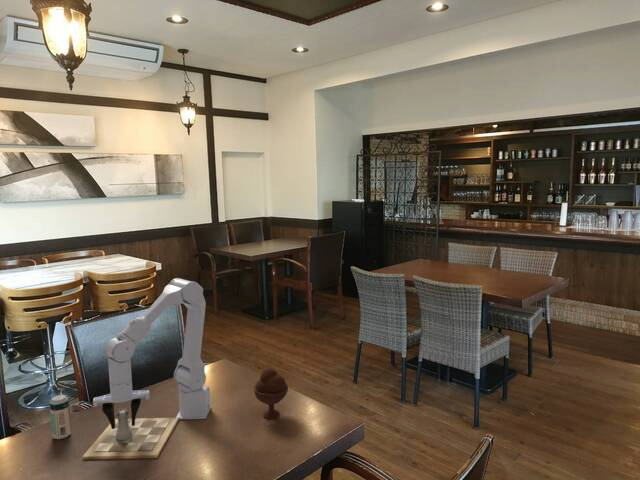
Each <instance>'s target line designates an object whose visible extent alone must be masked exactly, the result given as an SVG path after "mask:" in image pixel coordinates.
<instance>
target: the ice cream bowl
mask: <svg viewBox="0 0 640 480" xmlns="http://www.w3.org/2000/svg"><path fill="white" fill-rule="evenodd" d="M253 390H254V395H255V397H256V399H257V400H258V401H259V402H261V403H262V404H265V405H268V409H267V410H265V411H264V412H263V413H262V417H265V418H267V419H266V420H272V419H273V420H275V419H274V418H276V419H278V418H279V417H280V416H281V414H280V412H279V410H276V409H275V405H276V404H279V403H280V402H281V401H282V400H283V399H284V398H285V397H286V395H287V394H288V391H289V386H288V384H287V382H286V380H285V378H284V377H283V375H281V374H278V372H277V371H276V369H274V368H272V367H269V368H265V369H263V370H262V372H261V373H260V376H259V380H257V381H256V382H255V385H253ZM279 415H280V416H279ZM278 416H279V417H278ZM277 417H278V418H277ZM265 418H264V419H265Z"/></svg>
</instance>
